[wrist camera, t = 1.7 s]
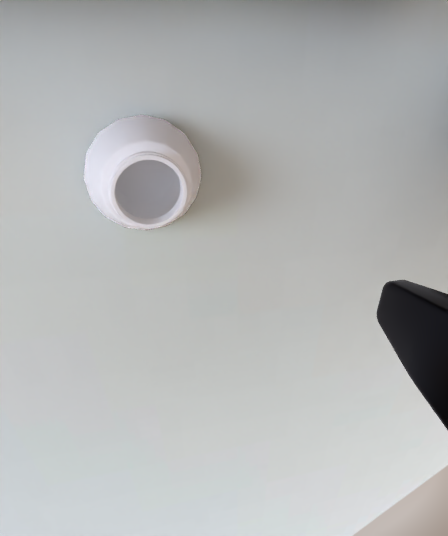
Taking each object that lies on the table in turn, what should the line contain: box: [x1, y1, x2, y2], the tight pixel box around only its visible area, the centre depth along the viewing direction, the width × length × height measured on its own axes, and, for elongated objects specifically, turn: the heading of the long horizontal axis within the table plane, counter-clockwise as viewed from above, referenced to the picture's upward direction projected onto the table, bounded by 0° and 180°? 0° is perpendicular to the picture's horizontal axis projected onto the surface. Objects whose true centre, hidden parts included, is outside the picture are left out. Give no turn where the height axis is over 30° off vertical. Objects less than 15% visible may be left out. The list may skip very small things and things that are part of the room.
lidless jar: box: [84, 115, 201, 230], centre depth 17 cm, size 5×3×5 cm
